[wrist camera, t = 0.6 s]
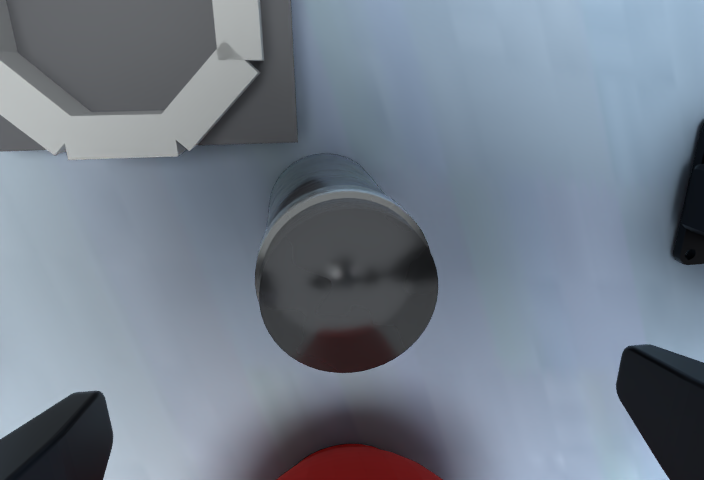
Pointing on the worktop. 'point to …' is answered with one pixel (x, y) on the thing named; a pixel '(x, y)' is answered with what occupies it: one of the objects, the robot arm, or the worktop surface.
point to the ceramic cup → (357, 465)
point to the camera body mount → (144, 76)
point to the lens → (342, 268)
